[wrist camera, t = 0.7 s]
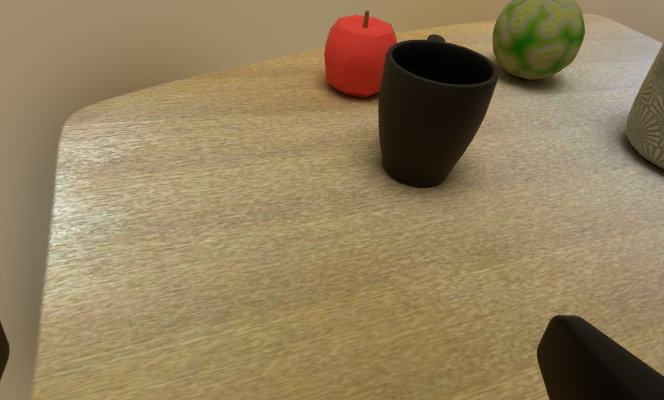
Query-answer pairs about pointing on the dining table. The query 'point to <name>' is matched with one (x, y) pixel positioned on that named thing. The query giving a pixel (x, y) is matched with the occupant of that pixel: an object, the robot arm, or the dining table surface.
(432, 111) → the mug
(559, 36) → the decorative ball
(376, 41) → the apple
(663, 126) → the planter
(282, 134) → the dining table surface
